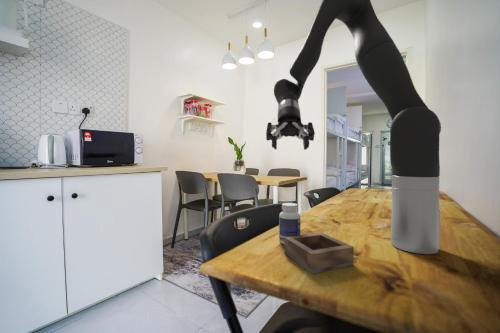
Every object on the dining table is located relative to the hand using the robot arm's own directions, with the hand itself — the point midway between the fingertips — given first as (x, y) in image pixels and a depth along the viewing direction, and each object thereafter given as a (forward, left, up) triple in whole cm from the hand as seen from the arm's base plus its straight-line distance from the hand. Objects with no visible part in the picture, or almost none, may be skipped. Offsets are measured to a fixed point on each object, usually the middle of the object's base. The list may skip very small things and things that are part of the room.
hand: (290, 147), depth 65 cm
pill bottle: (+4, +6, -25) cm, 26 cm away
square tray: (+4, +17, -25) cm, 30 cm away
